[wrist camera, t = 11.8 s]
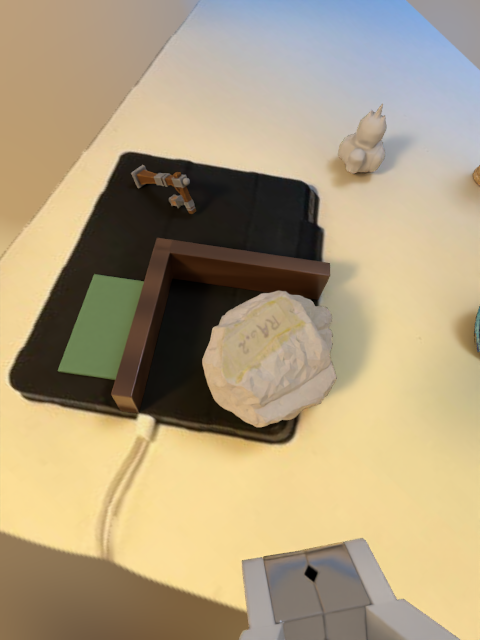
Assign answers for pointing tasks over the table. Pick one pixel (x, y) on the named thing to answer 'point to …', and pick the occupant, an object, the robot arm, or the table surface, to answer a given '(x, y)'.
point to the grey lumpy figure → (365, 144)
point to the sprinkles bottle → (477, 175)
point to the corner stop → (210, 269)
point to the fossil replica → (271, 358)
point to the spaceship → (477, 329)
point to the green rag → (102, 327)
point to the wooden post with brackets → (176, 180)
